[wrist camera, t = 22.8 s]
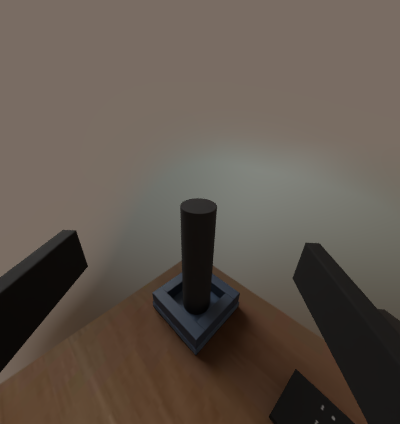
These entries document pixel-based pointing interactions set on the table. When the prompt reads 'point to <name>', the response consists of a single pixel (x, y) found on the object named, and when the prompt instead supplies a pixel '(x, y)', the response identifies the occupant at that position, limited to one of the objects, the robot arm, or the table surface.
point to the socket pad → (189, 323)
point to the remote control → (305, 405)
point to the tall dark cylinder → (197, 253)
